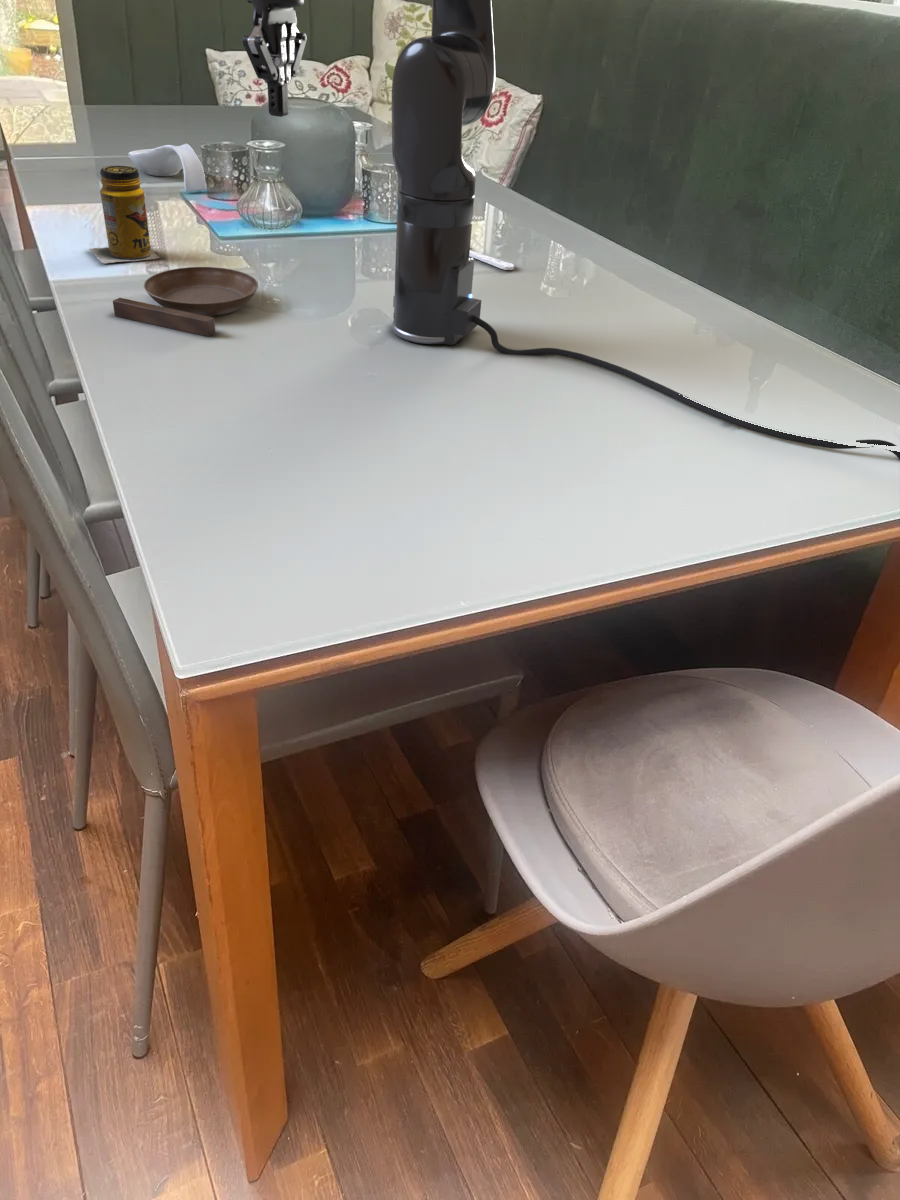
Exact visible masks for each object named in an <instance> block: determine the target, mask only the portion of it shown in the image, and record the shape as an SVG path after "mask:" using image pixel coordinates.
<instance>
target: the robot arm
mask: <svg viewBox="0 0 900 1200" xmlns="http://www.w3.org/2000/svg"><path fill="white" fill-rule="evenodd" d="M245 2H247V3H248V4H252V6H253V13H252V19H251V20H252V21H251V22H252V28H253V30H252V32H251V34H250V35H246V34H244V35H243V36H242V45H243V47H244V50H245V52H246V54H247V57H248V59H249V61H250V64H251V65H252V66H251V67H252V68H253V70H254V73H255V75H256V77H257V79H260V80H263V82H264V83H265V84H267V98H268V99H267V103H268V105H267V106H268V114H269V115H270V116H272V117H279V118H281V117H286V116H288V115H289V91H288V89H289V88H288V85H290V83H291V82H292V81H291V80H292V78H297V75H298V73H299V69H300V65H301V62H302V58H303V55H304V51H305V48H306V43H307V40H308V39H307V37H308V36H307V34H306V33H305V32H300V30H299V29H298V27H297V25H298V18H297V15H296V8H298V7H299V8H300V7H302V6H303V5H304V3H305V0H245ZM493 23H494V22H493V7H492V0H431V35H427V36H426V35H425V36H420V37H417V38H415V39H413V40H411V41H410V42H408V43H407V44H406V45H405V46H404V47H403V49H402V50H401V52H400V53H399V56H398V57H397V59H396V63H395V65H394V70H393V75H392V82H391V148H392V149H391V153H392V161H393V165H394V168H395V171H396V175H397V179H398V180H397V212H396V214H397V215H396V239H395V240H396V241H395V268H394V271H395V272H394V292H393V293H394V295H393V300H392V301H393V303H392V305H393V306H392V307H393V321H392V332H393V333H394V335H395V336H397V337H399V338H401V339H402V340H405V341H409V342H411V343H416V344H424V345H448V346H454V345H455V344H456V343H457V342H459V341H460V340H461V339H462V338H464V337H467V336H468V335H469V334H470V333H471V332H472V331H473V330H474V329H476V327H478V326H479V327H480V328H482V329H483V330H485V331H486V332H487V333H488V334H489V337H490V340H491V341H490V342H491V345H492V347H493V348H494V350H495V351H498V352H499V353H501V354H504V355H512V356H545V355H546V356H547V355H548V356H549V355H550V356H558V357H563V358H567V359H568V358H569V359H572V360H577V361H581V362H582V363H583V362H584V363H586V364H590V365H593V366H596V367H599V368H602V369H604V370H607V371H610V372H613V373H616V374H618V375H621V376H623V377H626V378H627V379H631V380H632V381H634V382H637V383H639V384H641V385H643V386H645V387H647V388H650V389H652V390H654V391H656V392H659V393H661V394H663V395H665V396H667V397H669V398H671V399H673V400H675V401H677V402H678V403H679V402H680V403H682V404H683V405H686V406H687V407H690V408H692V409H695V410H696V411H699V412H701V413H704V414H706V415H709V416H711V417H713V418H716V419H718V420H720V421H723V422H726V423H729V424H731V425H733V426H736V427H739V428H742V429H745V430H748V431H751V432H755V433H758V434H761V435H765V436H769V437H772V438H776V439H779V440H784V441H788V442H793V443H798V444H803V445H808V446H812V447H817V448H823V449H832V450H849V449H864V448H865V449H866V448H867V449H868V448H869V447H856V446H848V445H843V444H837V443H833V442H828V441H823V440H817V439H812V438H806V437H801V436H796V435H792V434H787V433H783V432H779V431H775V430H772V429H768V428H764V427H761V426H758V425H754V424H751V423H748V422H745V421H742V420H739V419H736V418H733V417H731V416H728V415H726V414H723V413H721V412H718V411H716V410H713V409H711V408H708V407H706V406H703V405H701V404H699V403H696V402H694V401H692V400H690V399H687V398H689V397H688V396H686V395H684V394H682V393H680V392H677V391H676V390H674V389H672V388H670V387H668V386H666V385H663V384H661V383H659V382H657V381H655V380H652V379H650V378H648V377H646V376H643V375H641V374H638V373H637V372H635V371H632V370H630V369H627V368H624V367H622V366H620V365H617V364H615V363H611V362H608V361H605V360H603V359H600V358H596V357H593V356H590V355H588V354H583V353H580V352H576V351H573V350H568V349H562V348H556V347H538V348H537V347H536V348H529V349H512V348H508V347H506V346H504V345H502V344H501V343H500V341H499V338H498V334H497V331H496V330H495V329H494V328H493V326H492V325H490V323H488V322H486V321H485V320H483V319H482V318H481V310H482V299H479V298H473V294H472V293H473V280H474V269H475V258H473V257H471V256H469V254H470V250H471V240H472V231H473V230H472V227H473V215H474V203H475V191H476V178H477V177H476V172H475V170H474V168H473V167H472V166H471V165H469V164H467V163H466V161H464V158H463V154H462V153H463V151H462V150H463V149H462V148H463V147H462V146H463V144H462V143H463V141H462V140H463V127H465V126H469V125H471V124H474V123H475V122H478V120H480V119H481V118H482V117H483V116H484V115H485V114H486V112H487V110H488V108H489V107H490V105H491V102H492V100H493V95H494V91H495V83H496V59H495V58H496V57H495V55H496V54H495V42H494V41H495V40H494V24H493ZM679 394H680V395H679ZM683 395H684V396H685V397H687V398H685V397H683ZM856 442H860V443H867V444H874V445H875V444H876V445H877V444H878V445H886V446H887V445H888V446H897V445H896V444H895V443H893V442H890V441H887V440H882V439H856ZM885 450H886V451H889V452H891V453H892V454H893V455H894V456H896V457H897V459H898V460H899V461H900V452H897V451H891V450H887V449H885Z"/></svg>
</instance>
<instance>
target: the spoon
mask: <svg viewBox="0 0 900 1200" xmlns="http://www.w3.org/2000/svg"><path fill="white" fill-rule="evenodd" d="M469 257H471V258H473V259H476V260H479V261H481V262H484V263H486V264H488V265H491V266H494V267H496V268H498V269H501V270H504V271H506V270H507V271H512V270H514V269H515V264H513V263H511V262H509V261H505V260H502V259H499V258H496V257H492V256H490V255H488V254H483V253H481V252H479V251H475V250H471V249H470V254H469Z"/></svg>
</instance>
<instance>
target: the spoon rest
mask: <svg viewBox="0 0 900 1200" xmlns="http://www.w3.org/2000/svg"><path fill="white" fill-rule="evenodd" d="M127 155H128V157H129V159H130V160H131V162H132V163H133V164H134V165H135V166H136V167H137V168H139V169H140V170H142V171H143V172H145V173H146V174H148V175H150V176H155V177H173V176H176V175H178V174H179V172H181V171H182V172H183V184H184V191H185V192H187V193H192V192H202V191H203V192H204V191H208V190H207V187H205V174H206V173H205V174H204V172H205V169H204V167H203V165H202V163H201V160H200V159H199V157H198V155H197V154H196V152H195V150H194V149H193V148H192V147H191V145H189V144H188V143H183V144H181V145H173V144H166V145H162V146H157V147H154V148H149V149H148V148H147V149H137V150H131V151H129V152H128V154H127Z"/></svg>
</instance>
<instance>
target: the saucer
mask: <svg viewBox="0 0 900 1200" xmlns="http://www.w3.org/2000/svg"><path fill="white" fill-rule="evenodd" d="M258 288H259V282H258V281H257V279H256V278H255V277H253V276H252V275H250V274H248V273H245V272H243V271H239V270H236V269H231V268H224V267H218V266H215V267H214V266H189V267H179V268H173V269H167V270H165V271H161V272H158V273H156V274H153V275H151V276H149V277H148V278H147V279H145V281H144V283H143V289H144V291H145V292H146V293H147V295H148V296H149V297H150V298H151V299H152V300H153V301H155V303H157V304H158V306H161V307H166V308H171V309H175V310H180V311H185V312H189V313H194V314H198V315H203V316H208V317H216V316H223V315H228V314H231V313H234V312H236V311H238V310H240V309H241V308H243V307H244V306H245V305H246V304H248V302H249V301H251V299H252V298H253V297H254V295H255V294H256V292H257V290H258Z"/></svg>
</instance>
